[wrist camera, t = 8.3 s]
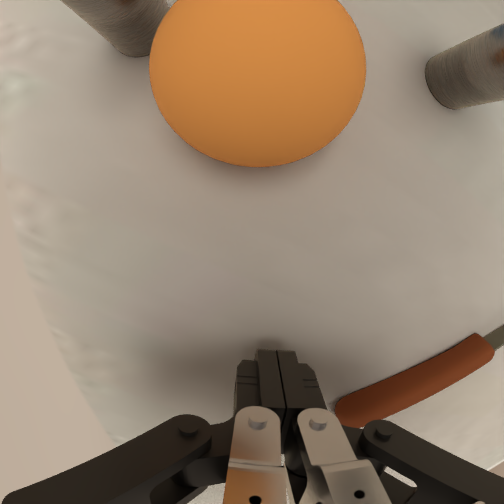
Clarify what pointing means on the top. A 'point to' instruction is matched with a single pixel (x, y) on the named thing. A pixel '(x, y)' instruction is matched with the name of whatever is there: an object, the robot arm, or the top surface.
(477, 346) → the kitchen knife
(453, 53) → the right post
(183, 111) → the ball
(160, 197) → the top surface
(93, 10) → the left post
